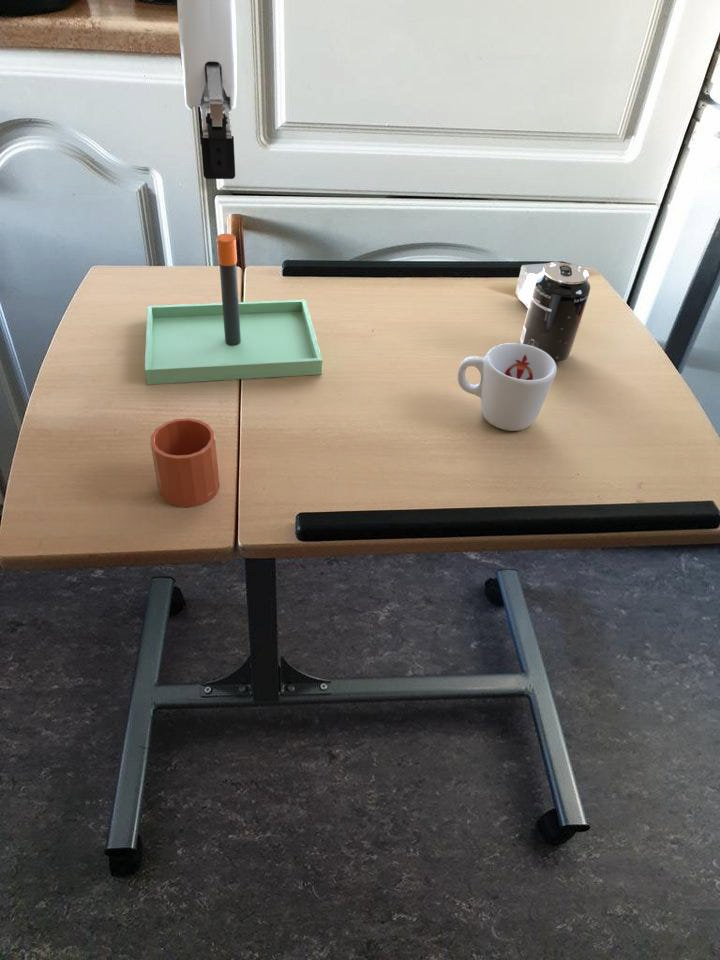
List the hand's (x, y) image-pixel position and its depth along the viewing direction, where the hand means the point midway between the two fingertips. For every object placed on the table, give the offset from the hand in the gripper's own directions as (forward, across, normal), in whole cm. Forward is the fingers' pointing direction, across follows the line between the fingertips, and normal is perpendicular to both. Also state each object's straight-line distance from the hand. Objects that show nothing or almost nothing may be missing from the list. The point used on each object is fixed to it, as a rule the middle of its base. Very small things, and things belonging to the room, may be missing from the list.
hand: (217, 161), depth 76 cm
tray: (+23, 0, 0) cm, 23 cm away
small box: (+23, -8, +46) cm, 52 cm away
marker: (+23, 0, +1) cm, 23 cm away
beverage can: (+23, +6, +42) cm, 48 cm away
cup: (+23, +18, +30) cm, 42 cm away
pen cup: (+24, +26, -6) cm, 35 cm away
